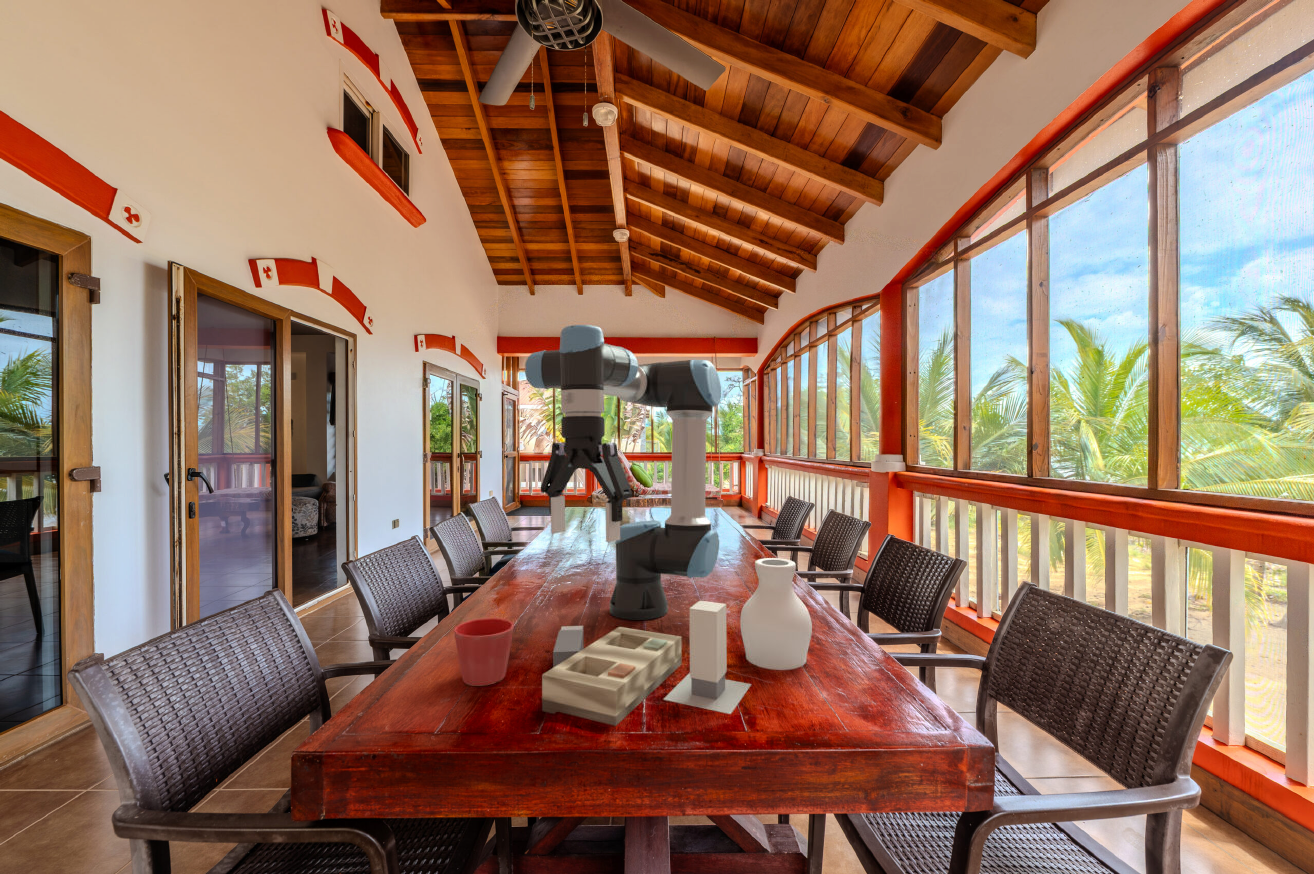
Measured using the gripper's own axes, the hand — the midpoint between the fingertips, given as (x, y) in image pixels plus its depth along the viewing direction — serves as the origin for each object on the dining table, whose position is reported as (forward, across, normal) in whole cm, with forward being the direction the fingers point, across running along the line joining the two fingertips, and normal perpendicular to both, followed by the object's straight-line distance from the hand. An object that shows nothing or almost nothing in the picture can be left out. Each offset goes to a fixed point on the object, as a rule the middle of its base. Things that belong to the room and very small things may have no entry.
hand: (584, 536), depth 99 cm
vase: (+29, +20, +34) cm, 49 cm away
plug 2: (+28, +17, +13) cm, 35 cm away
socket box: (+28, +2, +6) cm, 29 cm away
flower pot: (+28, -20, -7) cm, 36 cm away
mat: (+28, +17, +13) cm, 35 cm away
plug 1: (+28, -13, +8) cm, 32 cm away
